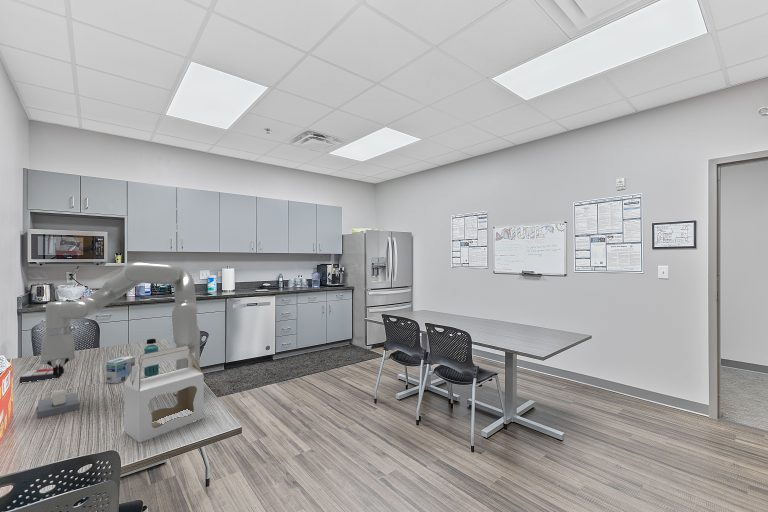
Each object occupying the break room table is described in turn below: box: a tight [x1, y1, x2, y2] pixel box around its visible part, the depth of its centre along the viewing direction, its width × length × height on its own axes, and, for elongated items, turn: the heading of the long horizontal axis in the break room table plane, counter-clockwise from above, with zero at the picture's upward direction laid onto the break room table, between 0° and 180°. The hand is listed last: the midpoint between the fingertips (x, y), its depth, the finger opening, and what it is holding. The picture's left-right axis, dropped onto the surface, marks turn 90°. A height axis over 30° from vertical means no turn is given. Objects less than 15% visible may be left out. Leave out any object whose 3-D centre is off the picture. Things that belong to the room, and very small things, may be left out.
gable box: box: [123, 346, 205, 443], centre depth 130 cm, size 22×13×28 cm, turn 145°
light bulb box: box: [105, 355, 136, 385], centre depth 179 cm, size 11×7×11 cm, turn 168°
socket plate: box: [37, 392, 80, 419], centre depth 146 cm, size 16×12×3 cm
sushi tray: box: [18, 367, 65, 384], centre depth 183 cm, size 11×4×15 cm
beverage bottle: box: [143, 338, 160, 377], centre depth 182 cm, size 6×7×20 cm
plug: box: [52, 389, 66, 406], centre depth 143 cm, size 5×4×7 cm
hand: (58, 375), depth 143 cm, fingers closed
